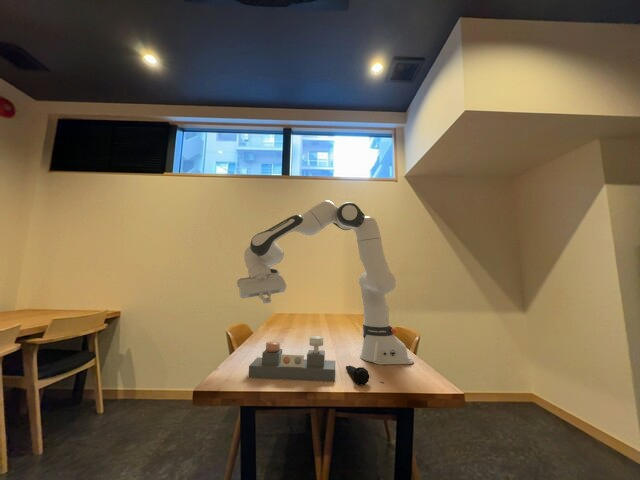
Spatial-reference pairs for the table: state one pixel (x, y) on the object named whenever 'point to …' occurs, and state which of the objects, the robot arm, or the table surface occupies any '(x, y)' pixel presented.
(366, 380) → the microphone
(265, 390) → the table surface
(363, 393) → the table surface
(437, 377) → the table surface
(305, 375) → the button console
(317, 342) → the grey button
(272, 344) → the terracotta button
